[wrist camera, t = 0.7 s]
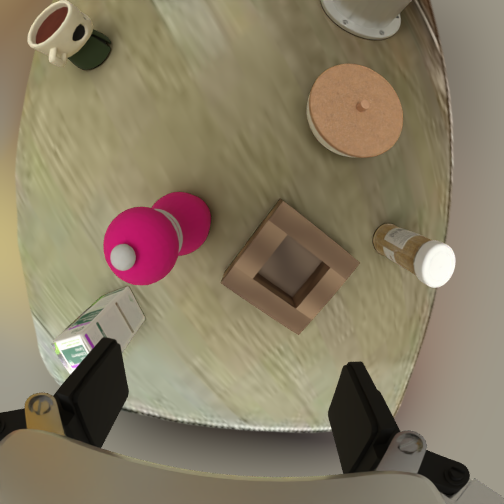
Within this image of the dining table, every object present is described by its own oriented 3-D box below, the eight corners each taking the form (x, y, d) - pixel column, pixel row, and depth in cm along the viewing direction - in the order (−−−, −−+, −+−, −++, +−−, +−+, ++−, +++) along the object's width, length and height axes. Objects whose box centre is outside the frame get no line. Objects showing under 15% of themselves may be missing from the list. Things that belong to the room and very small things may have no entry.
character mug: (114, 75, 31) (64, 44, 19) (75, 90, 32) (20, 69, 19) (117, 20, 29) (77, -19, 16) (79, 35, 29) (34, 6, 16)
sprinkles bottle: (372, 256, 37) (421, 292, 24) (371, 223, 36) (424, 246, 23) (400, 253, 37) (454, 285, 24) (400, 221, 36) (458, 242, 23)
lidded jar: (366, 173, 34) (399, 172, 25) (289, 145, 34) (300, 133, 25) (384, 102, 32) (417, 84, 23) (310, 73, 31) (326, 43, 22)
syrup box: (129, 284, 39) (77, 332, 25) (147, 319, 40) (106, 377, 26) (101, 295, 39) (48, 341, 25) (119, 328, 41) (74, 383, 26)
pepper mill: (226, 225, 36) (193, 276, 17) (182, 256, 37) (117, 329, 18) (193, 179, 35) (124, 179, 16) (150, 212, 36) (57, 247, 17)
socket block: (280, 198, 36) (283, 200, 32) (350, 254, 37) (360, 262, 33) (224, 272, 38) (220, 283, 34) (294, 320, 40) (298, 335, 36)
